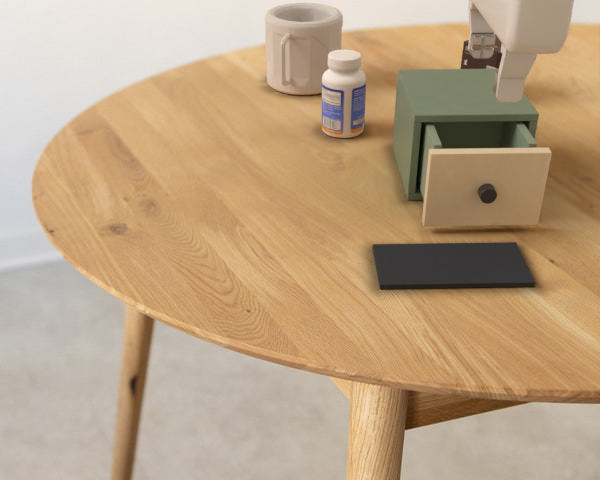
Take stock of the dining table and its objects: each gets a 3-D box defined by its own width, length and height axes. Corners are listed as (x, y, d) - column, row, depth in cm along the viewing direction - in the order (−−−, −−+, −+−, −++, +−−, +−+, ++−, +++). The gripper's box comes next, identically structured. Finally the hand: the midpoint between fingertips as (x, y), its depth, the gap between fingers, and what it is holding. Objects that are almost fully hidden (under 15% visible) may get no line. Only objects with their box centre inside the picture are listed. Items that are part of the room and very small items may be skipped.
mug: (283, 66, 119) (282, -2, 113) (350, 75, 116) (353, 5, 110) (246, 97, 108) (243, 24, 103) (319, 108, 105) (320, 32, 99)
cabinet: (523, 198, 84) (539, 113, 78) (407, 200, 84) (414, 115, 78) (495, 145, 95) (507, 68, 90) (392, 147, 95) (397, 69, 89)
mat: (515, 246, 76) (516, 241, 76) (534, 286, 70) (535, 282, 70) (372, 248, 76) (372, 244, 76) (379, 289, 70) (380, 284, 70)
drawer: (541, 231, 77) (556, 158, 72) (425, 232, 76) (433, 159, 72) (507, 169, 88) (518, 102, 83) (406, 170, 88) (412, 104, 83)
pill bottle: (358, 120, 102) (361, 45, 96) (368, 137, 97) (372, 60, 92) (317, 123, 101) (318, 48, 95) (325, 140, 96) (327, 62, 91)
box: (455, 93, 109) (462, 40, 105) (483, 83, 113) (490, 32, 108) (490, 105, 106) (498, 51, 101) (517, 95, 109) (526, 42, 105)
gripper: (625, -107, 43) (574, 130, 51) (531, -148, 59) (504, 35, 67) (510, -107, 43) (477, 131, 51) (448, -148, 59) (431, 36, 67)
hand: (492, 76), depth 59 cm, fingers open, 8 cm apart
